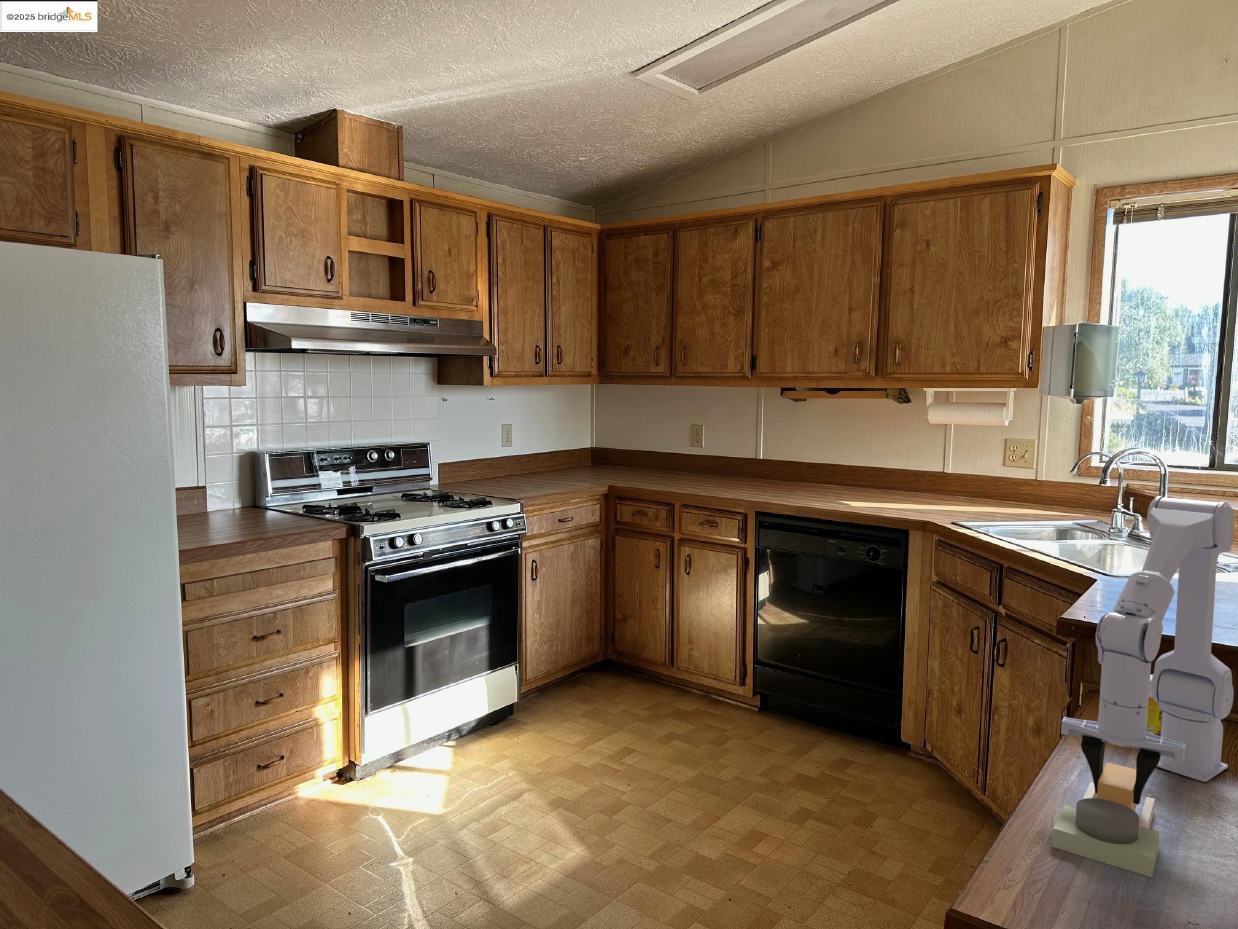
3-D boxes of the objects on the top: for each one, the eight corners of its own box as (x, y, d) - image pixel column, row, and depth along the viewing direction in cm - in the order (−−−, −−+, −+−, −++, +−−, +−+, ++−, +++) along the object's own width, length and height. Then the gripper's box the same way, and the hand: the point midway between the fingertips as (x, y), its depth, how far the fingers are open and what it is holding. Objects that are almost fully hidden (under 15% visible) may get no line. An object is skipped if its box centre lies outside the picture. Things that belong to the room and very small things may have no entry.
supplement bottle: (1160, 744, 142) (1164, 685, 141) (1125, 732, 146) (1129, 675, 146) (1175, 737, 145) (1179, 679, 144) (1141, 726, 149) (1144, 670, 149)
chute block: (1104, 796, 120) (1106, 762, 120) (1136, 804, 118) (1139, 770, 117) (1095, 817, 114) (1098, 782, 113) (1129, 827, 111) (1132, 790, 111)
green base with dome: (1078, 792, 123) (1080, 759, 123) (1166, 816, 117) (1169, 781, 116) (1051, 846, 108) (1054, 809, 108) (1152, 877, 101) (1154, 838, 101)
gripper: (1059, 696, 116) (1053, 791, 117) (1185, 722, 107) (1177, 824, 108) (1068, 683, 121) (1063, 773, 122) (1189, 707, 112) (1181, 804, 113)
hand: (1117, 796), depth 115 cm, fingers closed on chute block, 4 cm apart
